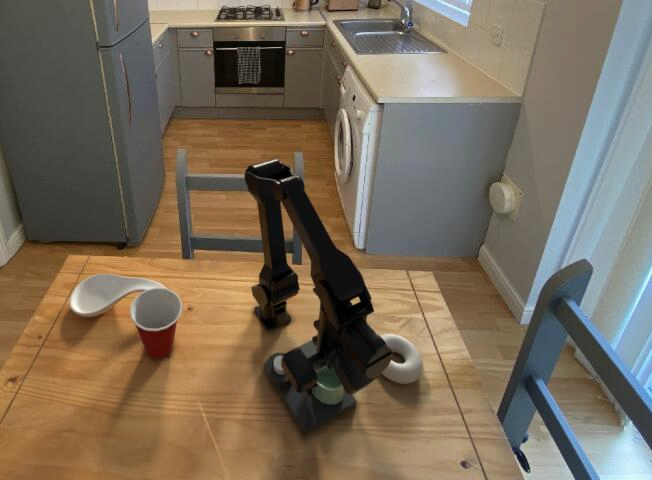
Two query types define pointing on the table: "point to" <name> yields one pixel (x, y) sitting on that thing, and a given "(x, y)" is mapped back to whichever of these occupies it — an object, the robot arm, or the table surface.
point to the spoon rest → (105, 292)
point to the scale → (306, 398)
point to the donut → (412, 360)
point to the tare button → (278, 366)
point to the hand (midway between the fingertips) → (327, 382)
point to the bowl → (328, 387)
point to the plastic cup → (156, 319)
